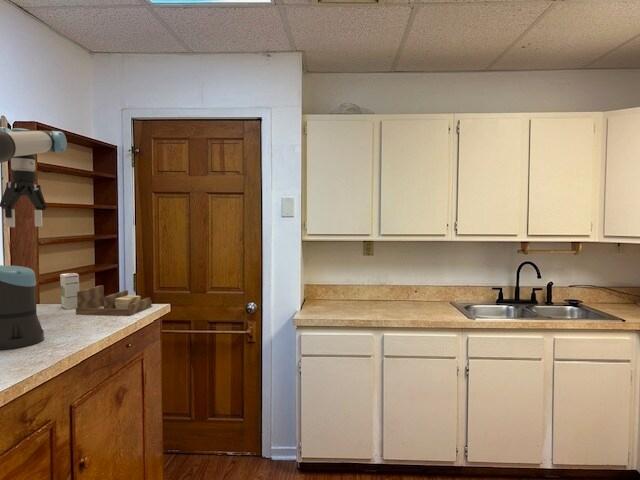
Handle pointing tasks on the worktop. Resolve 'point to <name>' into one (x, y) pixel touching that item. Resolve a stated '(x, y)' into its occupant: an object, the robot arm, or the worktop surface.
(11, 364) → the worktop surface
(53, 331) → the worktop surface
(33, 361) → the worktop surface
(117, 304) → the birch offcut
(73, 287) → the syrup box
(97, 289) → the walnut rack
